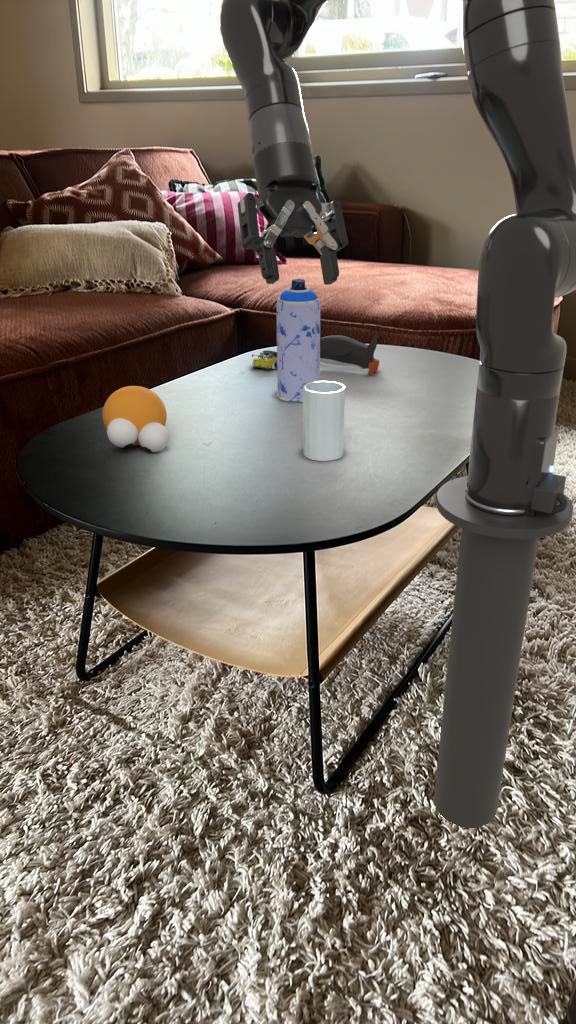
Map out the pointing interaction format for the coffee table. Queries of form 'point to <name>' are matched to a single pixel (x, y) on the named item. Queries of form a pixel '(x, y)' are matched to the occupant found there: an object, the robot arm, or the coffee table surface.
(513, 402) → the robot arm
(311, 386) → the plastic cup
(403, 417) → the coffee table surface
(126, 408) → the toy
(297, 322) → the aerosol can
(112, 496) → the coffee table surface
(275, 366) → the toy car
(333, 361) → the figurine
